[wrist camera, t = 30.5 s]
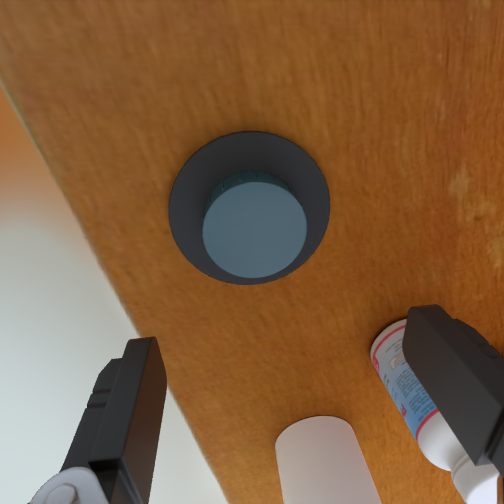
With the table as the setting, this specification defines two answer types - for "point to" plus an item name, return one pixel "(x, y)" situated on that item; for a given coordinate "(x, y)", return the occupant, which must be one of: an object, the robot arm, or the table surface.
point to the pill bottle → (429, 420)
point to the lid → (253, 225)
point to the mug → (323, 464)
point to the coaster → (229, 163)
